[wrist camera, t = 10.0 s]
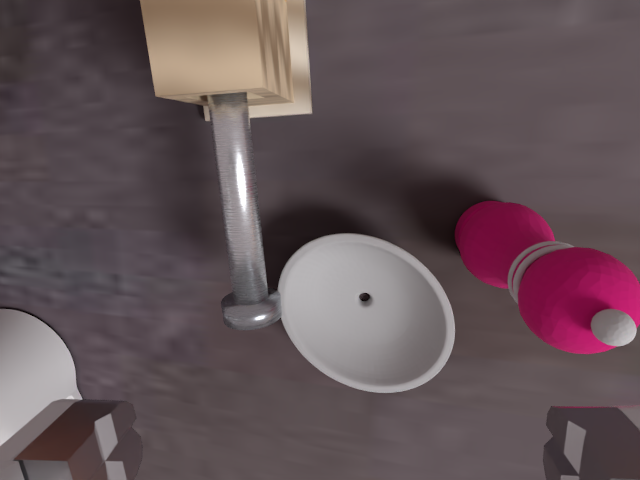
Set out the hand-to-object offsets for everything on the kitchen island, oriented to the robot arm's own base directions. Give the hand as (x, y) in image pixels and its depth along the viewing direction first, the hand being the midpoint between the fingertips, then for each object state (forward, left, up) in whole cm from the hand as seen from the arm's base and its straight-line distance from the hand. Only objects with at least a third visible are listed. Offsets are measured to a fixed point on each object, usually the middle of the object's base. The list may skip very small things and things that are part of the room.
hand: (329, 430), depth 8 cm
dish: (-7, -8, -31) cm, 33 cm away
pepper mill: (+6, -12, -31) cm, 34 cm away
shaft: (-3, +9, -25) cm, 26 cm away
